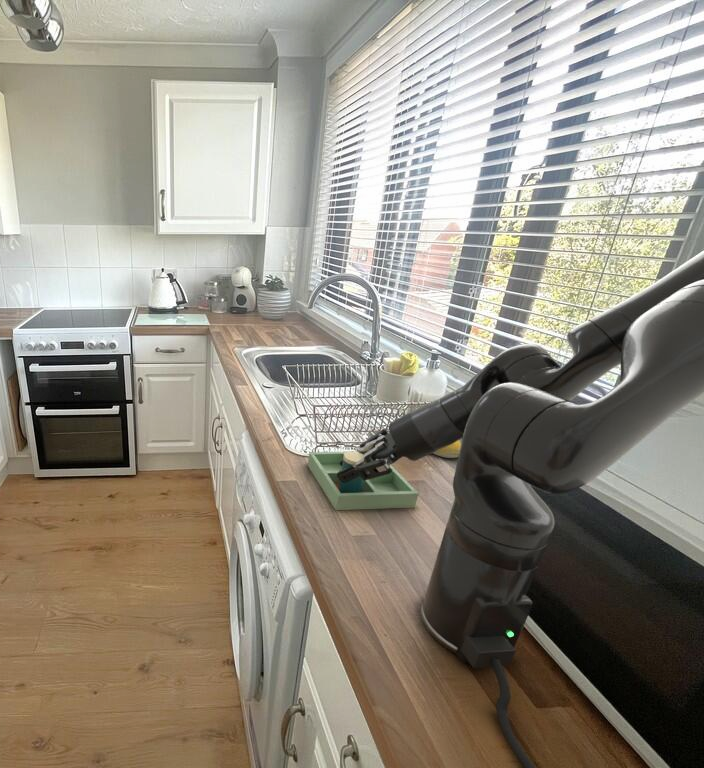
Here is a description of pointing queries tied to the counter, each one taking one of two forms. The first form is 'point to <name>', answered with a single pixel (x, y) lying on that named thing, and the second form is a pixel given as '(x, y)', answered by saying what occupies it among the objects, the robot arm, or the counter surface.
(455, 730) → the counter surface
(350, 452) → the teal cream-capped cylinder
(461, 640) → the robot arm
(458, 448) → the bread roll
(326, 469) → the grid
